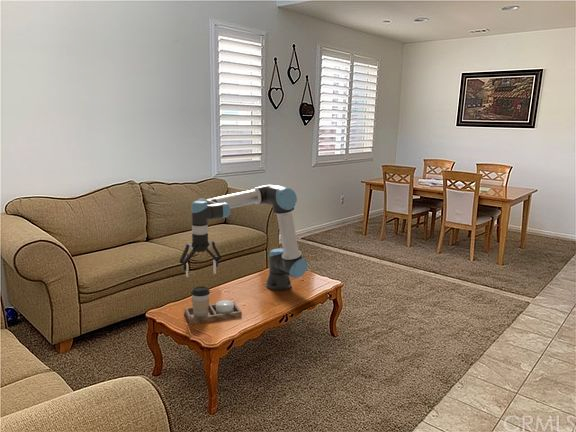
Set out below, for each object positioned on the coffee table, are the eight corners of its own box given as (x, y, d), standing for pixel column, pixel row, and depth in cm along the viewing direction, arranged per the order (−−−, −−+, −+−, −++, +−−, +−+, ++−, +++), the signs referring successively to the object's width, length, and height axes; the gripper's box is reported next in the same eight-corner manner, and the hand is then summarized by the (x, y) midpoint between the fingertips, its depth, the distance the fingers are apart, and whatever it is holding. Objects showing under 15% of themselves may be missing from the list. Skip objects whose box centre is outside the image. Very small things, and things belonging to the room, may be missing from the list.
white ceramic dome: (231, 308, 232) (231, 299, 231) (235, 315, 224) (235, 306, 223) (214, 310, 229) (214, 301, 227) (218, 317, 220) (218, 308, 219)
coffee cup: (190, 313, 224) (189, 285, 221) (207, 311, 227) (207, 283, 224) (193, 321, 216) (193, 292, 213) (211, 318, 219) (211, 290, 216)
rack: (234, 307, 235) (234, 301, 235) (241, 318, 223) (241, 311, 222) (184, 314, 225) (184, 307, 225) (189, 326, 213) (189, 319, 212)
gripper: (223, 229, 221) (223, 269, 225) (172, 233, 211) (174, 275, 216) (227, 232, 214) (227, 274, 218) (174, 237, 204) (176, 280, 209)
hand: (201, 274), depth 217 cm, fingers open, 13 cm apart
